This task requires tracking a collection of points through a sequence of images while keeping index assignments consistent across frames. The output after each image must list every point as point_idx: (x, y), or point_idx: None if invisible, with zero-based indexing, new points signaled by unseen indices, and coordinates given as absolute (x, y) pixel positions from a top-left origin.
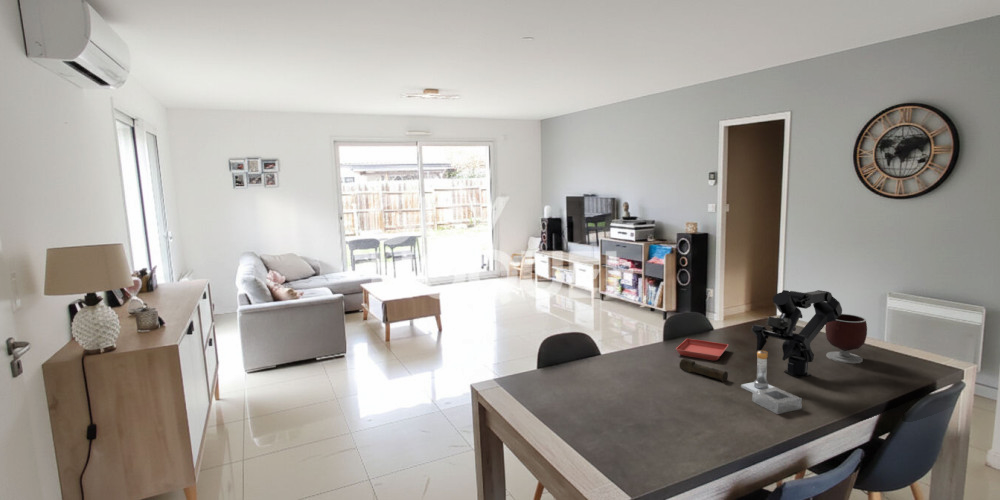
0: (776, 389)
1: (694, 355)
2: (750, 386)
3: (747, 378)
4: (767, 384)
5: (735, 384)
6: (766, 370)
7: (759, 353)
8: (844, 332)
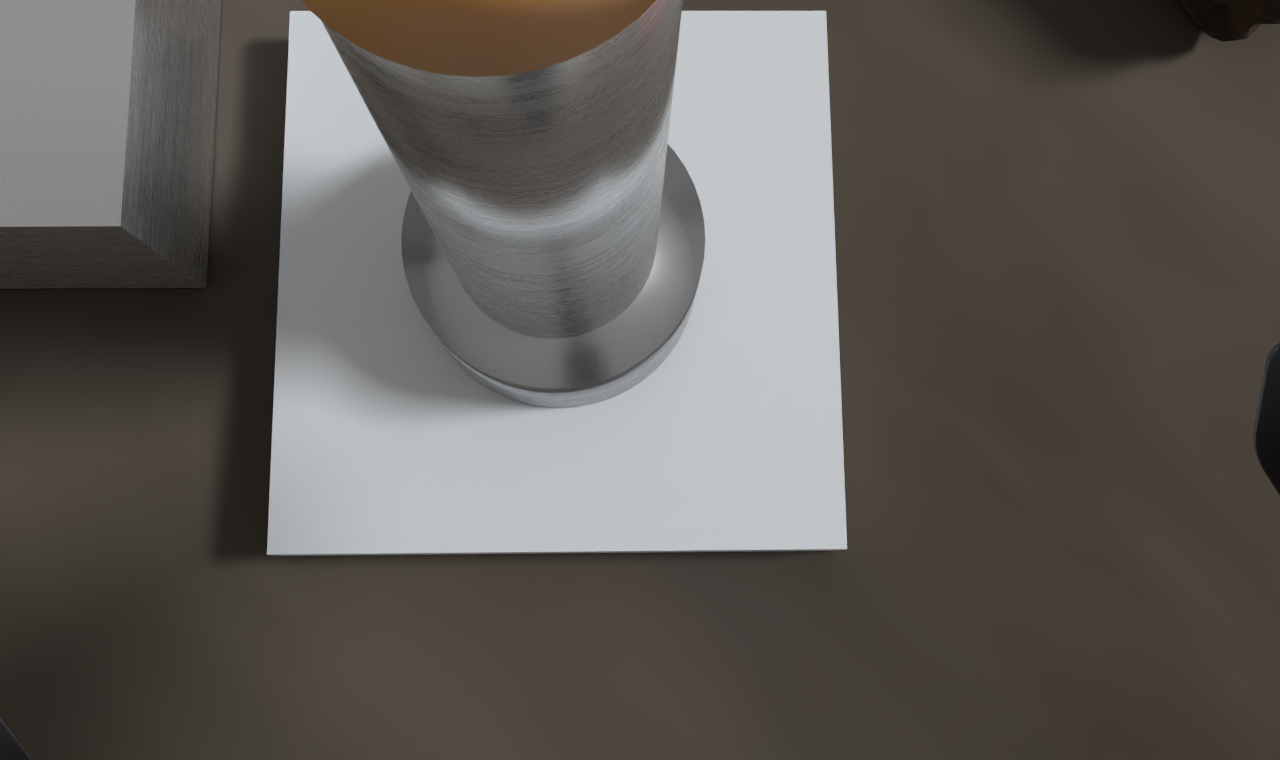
0: (9, 127)
1: None
2: (679, 108)
3: (1155, 505)
4: (405, 274)
5: (969, 44)
6: (402, 173)
7: None
8: None
